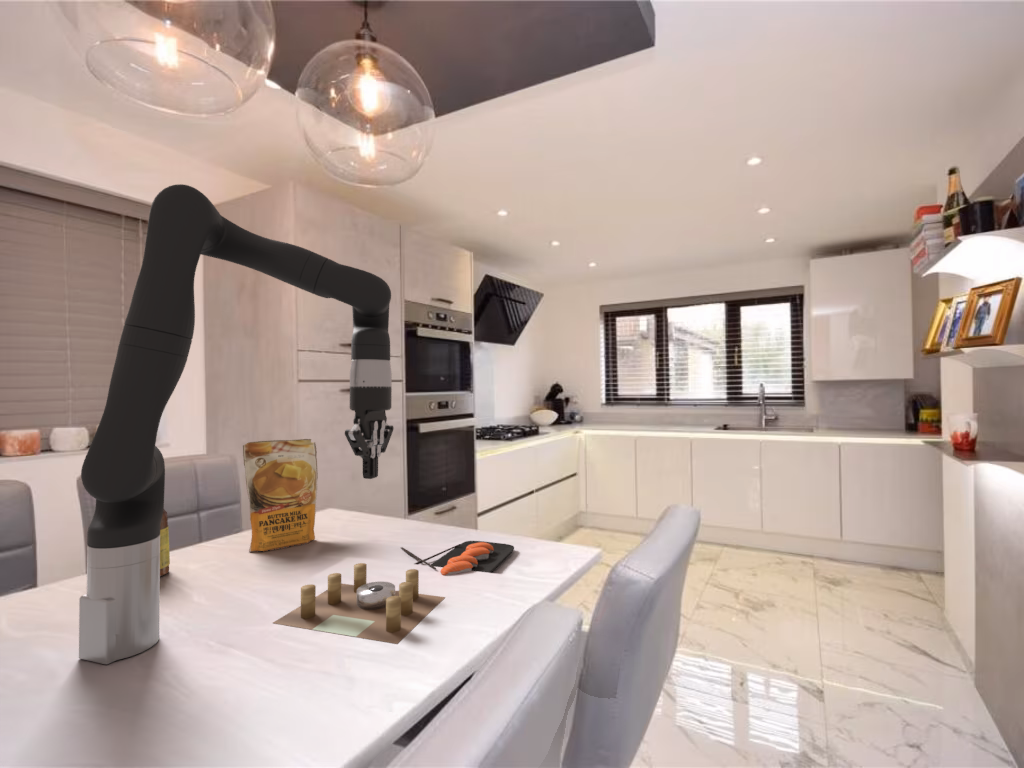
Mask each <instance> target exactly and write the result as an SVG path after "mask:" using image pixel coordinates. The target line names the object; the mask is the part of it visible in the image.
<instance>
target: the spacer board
mask: <svg viewBox="0 0 1024 768" xmlns="http://www.w3.org/2000/svg"><path fill="white" fill-rule="evenodd" d="M367 570H368V569H367V564H366V563H365V562H360V563H356V564H353V584H349V583H348V584H347V583H342V573H339V572H334V573H329V574H328V575H327V589H326V590H324V591H323V592H320V594H318V595H316V587H317V585H315V584H310V583H309V584H305V585H302V586H301V587H300V606H298V607H296V608H294V609H293V610H292V611H289V612H288V613H287V614H285V615H283V616H281V617H280V618H278V619H277V620H275V621H273V622H272V624H275V625H281V626H288V627H294V628H299V629H304V630H311V631H316V632H322V633H329V634H335V635H340V636H346V637H352V638H358V639H363V640H364V639H365V640H371V641H376V642H381V643H388V644H394V645H398V644H399V643H401V641H402V640H403V639H404V638H405V637H406V636H408V634H410V632H412V630H413V629H414V628H416V627H417V626H418V625H419V623H421V622H422V621H423V620H424V619H425V618H426V617H427V616H428V615H429V614H430V613H431V612H432V611H434V609H435V608H436V607H437V606H438V605H440V604H441V602H442V601H443V600H444V599H445V598H446V597H445V596H441V595H440V596H438V595H432V594H425V593H419V584H420V583H419V582H420V581H419V578H420V577H419V571H420V570H419V569H415V568H413V569H412V568H411V569H407V570H406V571H405V581H403V582H401V583H399V586H398V590H395V596H391V597H388V598H387V599H386V607H385V608H382V609H376V610H365V609H361V608H359V607H358V606H357V589H358V588H359V587H360V586H362V585H364V584H367Z"/></svg>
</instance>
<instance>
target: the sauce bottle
mask: <svg viewBox="0 0 1024 768" xmlns="http://www.w3.org/2000/svg"><path fill="white" fill-rule="evenodd" d="M168 518H169V517H168V511H166V510H165V509H164V510H163V516H162V520H161V526H160V577H162V576H165V575H167V574H168V573H169V572H170V564H171V558H170V533H169V528H170V527H169V522H168V520H169V519H168Z"/></svg>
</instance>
